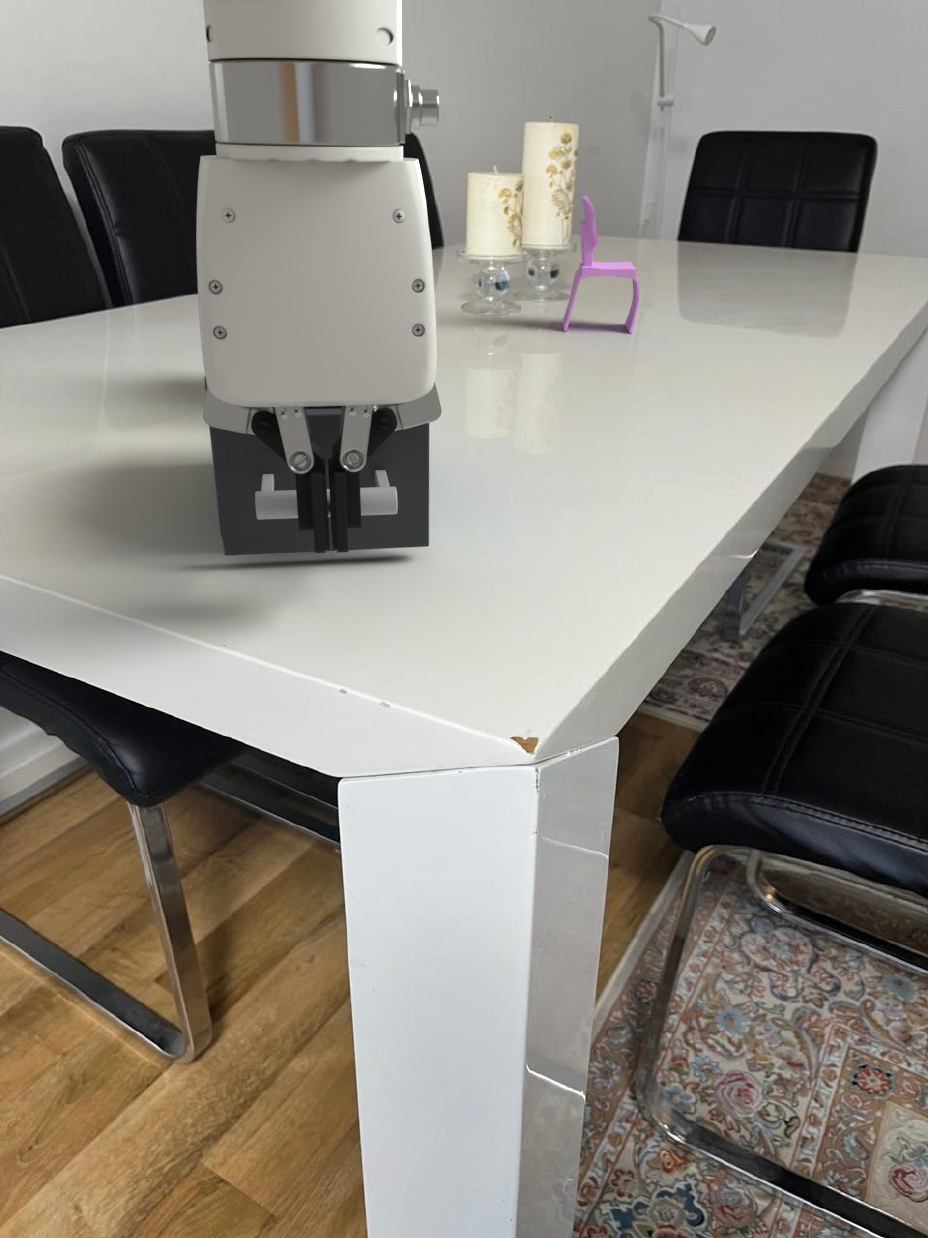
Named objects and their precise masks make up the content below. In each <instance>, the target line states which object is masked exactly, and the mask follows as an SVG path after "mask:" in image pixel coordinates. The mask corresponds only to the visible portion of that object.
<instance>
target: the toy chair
mask: <svg viewBox="0 0 928 1238" xmlns="http://www.w3.org/2000/svg"><path fill="white" fill-rule="evenodd" d="M580 199H581V203H582V210H583V214H584V215H583V216H584V220H580V221H579V229H580V247H581V250H580V251H581V260H579V265H578V267H579V268H578V269H577V270H576V271H575V273H574V277H573V280H572V285H571V291H570V295H569V299H568V303H567V306H566V310H565V313H564V316H563V319H562V328H564V329H563V331H564V332H567V331H568V328H569V324H570V319H571V316H572V312H573V307H574V304H575V299H576V295H577V292H578V289H579V285H580V283H581V281H582V280H583V279H585V278H588V277H589V278H590V277H603V276H610V277H611V276H612V277H618V278H619V277H620V278H628V279H631V281H632V301H631V305H630V308H629V312H628V315H627V317H626V320H625V323H624V325H625V327H626V330H627V332H628V333H629V334H633V332H634V328H635V323H636V319H637V316H638V315H637V314H638V310H639V304H640V281H639V279H638V278H637V268H636V267H635V266H634V264H633V262H631V261H614V262H613V261H611V262H608V261H607V262H606V261H594V260H593V257H594V250H595V248H597V247H598V246H599V243H600V238H599V235H598V232H597V231H598V230H597V226H596V214H595V210H594V207H593V204H592V202H591V200H590V198H589V197H588V195H582V196H581V198H580Z"/></svg>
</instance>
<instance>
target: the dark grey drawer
mask: <svg viewBox="0 0 928 1238" xmlns="http://www.w3.org/2000/svg"><path fill="white" fill-rule="evenodd" d="M341 407H342V406H308V407H306V411H307V416H308V421H309V425H310V430H311V435H312V439H313V442H314V443H315V444H316V445H318V446H319V447H320V457H321V458H325V470H326V486H327V505H328V524H329V544H330V550H326V552H336V551H337V550H333V541H332V529H331V509H330V489H329V470H328V458H332V446H333V445H334V444H335V443H336V442H337V441H338V434H339V425H340V416H341ZM211 430H212V440H213V450H214V459H215V469H216V478H217V488H218V498H219V507H220V517H221V526H222V536H223V537H222V542H223V543H222V544H223V553H224V556H226V557H227V556H228V557H229V556H247V555H269V554H271V555H272V554H273V555H274V554H291V553H294V554H295V553H315V544H314V530H308V531H299V525H298V510H297V495H296V480H295V472H294V471H292V470H291V469H290V468H289V466H288V463H287V462H286V461H285V460H284V459H282V458H281V457H280V456H279V455H278V454H277V453H275V452H274V451H273V450H272V449H271V448H270V447H268V446H267V445H266V444H265V443H264V442H263V441H262V440H260V439H259V438H258V437H257V436H256V435H252V434H248V433H246V434H243V433H238V432H233V431H228V430H224V429H219V428H214V427H211ZM360 498H361V528H356V529H347V532H348V551H358V550H359V551H360V550H380V549H381V550H383V549H406V548H426V547H429V546H430V423H426V424H422V425H419V426H415V427H411V428H408V429H404V430H403V429H401V430H397V431H394V432H393V433H392V434H391V435H390V436H389V437H388V438H387V439H386V440H385V441H384V442H383V443H382V444H381V445H380V446H379V447H378V448H377V449H376V451H375V452H374V453H373V454H372V455H371V456H370V457H369V458H368V459H367V460H366V463H365V466H364V467H363V468H362V469H361V470H360ZM337 552H338V551H337Z"/></svg>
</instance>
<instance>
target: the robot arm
mask: <svg viewBox="0 0 928 1238" xmlns="http://www.w3.org/2000/svg"><path fill="white" fill-rule="evenodd" d="M202 6H203V16H204V17H203V18H204V29H205V39H206V49H207V60H208V62H209V63H208V66H207V67H208V74H209V75H208V76H209V85H210V86H209V87H210V88H209V89H210V97H211V99H210V100H211V109H212V119H213V121H212V122H213V130H214V131H213V132H214V141H215V142H216V143H215V153H216V154H213V155H210V154H209V155H200V158H199V160H200V161H199V168H198V176H197V177H198V178H197V194H196V196H197V197H196V225H195V226H196V230H195V232H196V234H195V239H196V241H195V243H196V274H197V275H196V277H197V278H196V279H197V301H198V302H197V303H198V304H197V305H198V318H199V319H198V320H199V332H200V334H199V335H200V346H201V357H202V365H203V371H204V372H203V373H204V377H206V382H207V391H206V390H205V397H204V405H203V413H202V418H203V421H204V423H205V424H206V425H207V426H208V427H209V426H211V427H214V428H219V429H224V430H228V431H233V432H238V433H243V434H246V433H248V434H252V435H256V436H257V437H258V438H259V439H260V440H262V441H263V442H264V443H265V444H266V445H267V446H268V447H270V448H271V449H272V450H273V451H274V452H275V453H277V454H278V455H279V456H280V457H281V458H282V459H284V460H285V461H286V462H287V463H288V466H289V468H290V469H291V470H292V471H294V472H295V480H296V495H297V510H298V525H299V531H308V530H314V544H315V552H314V554H326V552H327V551H326V550H330V544H329V524H328V505H327V486H326V470H325V458H321V457H320V447H319V446H318V445H316V444H315V443H314V442H313V439H312V435H311V430H310V425H309V421H308V416H307V411H306V407H308V406H342V407H341V416H340V425H339V434H338V441H337V442H336V443H335V444H334V445H333V446H332V458H328V470H329V489H330V509H331V529H332V541H333V550H337V553H349V550H348V532H347V529H356V528H361V498H360V470H361V469H362V468H363V467H364V466H365V463H366V460H367V459H368V458H369V457H370V456H371V455H372V454H373V453H374V452H375V451H376V449H377V448H378V447H379V446H380V445H381V444H382V443H383V442H384V441H385V440H386V439H387V438H388V437H389V436H390V435H391V434H392V433H393V432H394V431H397V430H401V429H403V430H404V429H408V428H411V427H415V426H419V425H422V424H426V423H429V424H430V423H434V422H436V421H438V420H439V418H440V417H441V416H442V405H441V401H440V396H439V393H438V390H437V385H436V376H437V364H438V363H437V361H438V357H437V355H438V346H437V345H438V342H437V341H438V339H437V316H436V315H437V311H436V297H435V295H436V294H435V293H436V292H435V277H434V275H435V274H434V263H433V262H434V261H433V250H432V241H431V234H430V225H429V216H428V207H427V198H426V194H425V187H424V181H423V176H422V170H421V166H420V162H419V158H414V157H404V145H401V144H406V135H411V133H412V132H411V131H412V130H420V128H421V127H438V125H439V117H440V99H439V98H440V96H439V91H438V89H426V88H425V89H423V88H421V87H420V85H419V84H416V85H415V84H411V79H405V78H406V77H405V69H402V68H401V67H402V66H403V43H402V39H403V36H402V33H403V31H402V30H403V29H402V26H403V25H402V22H403V21H402V19H403V18H402V0H202ZM400 68H401V69H400Z"/></svg>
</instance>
